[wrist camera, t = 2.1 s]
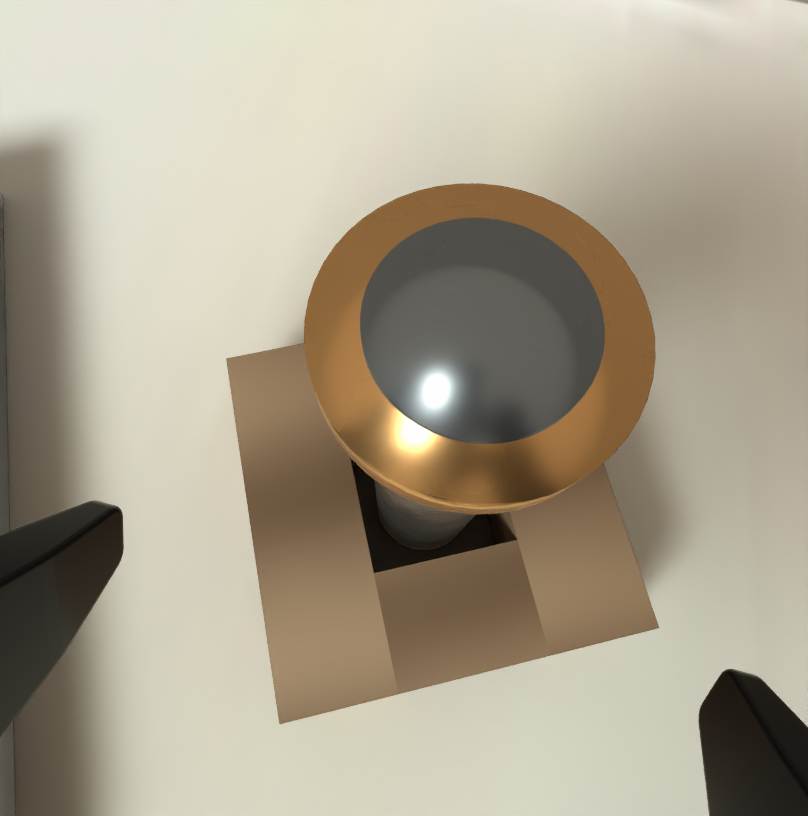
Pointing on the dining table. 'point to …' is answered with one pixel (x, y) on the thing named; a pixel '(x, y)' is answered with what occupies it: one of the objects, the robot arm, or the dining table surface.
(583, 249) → the copper collared peg
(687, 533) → the dining table surface
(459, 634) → the socket block
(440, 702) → the dining table surface
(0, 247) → the tray
